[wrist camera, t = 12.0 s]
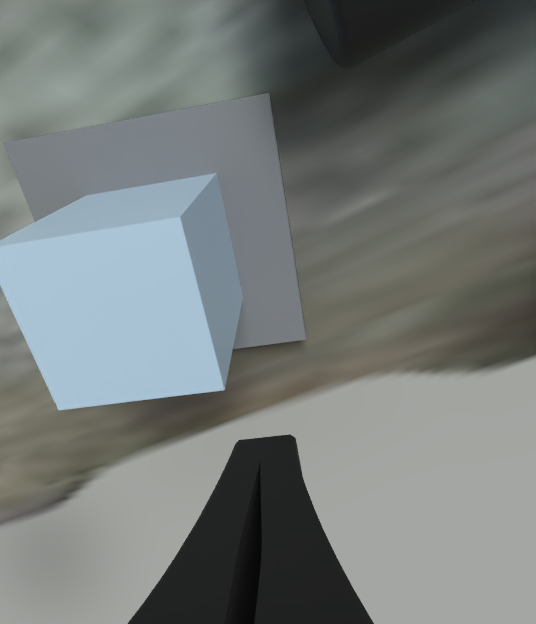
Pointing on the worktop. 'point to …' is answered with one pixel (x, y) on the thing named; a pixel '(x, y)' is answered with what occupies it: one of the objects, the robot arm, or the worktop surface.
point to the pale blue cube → (128, 293)
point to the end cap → (372, 24)
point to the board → (179, 165)
